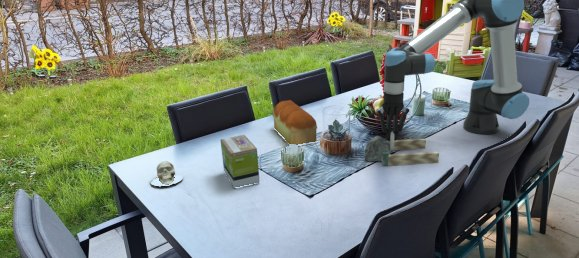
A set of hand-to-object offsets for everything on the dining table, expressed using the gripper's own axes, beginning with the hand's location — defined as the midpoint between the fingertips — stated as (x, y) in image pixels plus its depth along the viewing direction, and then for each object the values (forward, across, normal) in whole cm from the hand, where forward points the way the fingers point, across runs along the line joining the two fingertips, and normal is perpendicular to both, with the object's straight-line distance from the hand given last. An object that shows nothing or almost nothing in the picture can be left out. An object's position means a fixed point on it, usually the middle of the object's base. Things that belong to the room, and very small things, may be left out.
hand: (390, 148), depth 171 cm
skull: (+4, +88, +9) cm, 89 cm away
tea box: (+4, +60, +11) cm, 61 cm away
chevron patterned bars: (+4, -6, 0) cm, 7 cm away
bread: (+4, +37, -29) cm, 48 cm away
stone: (+4, +5, 0) cm, 7 cm away
